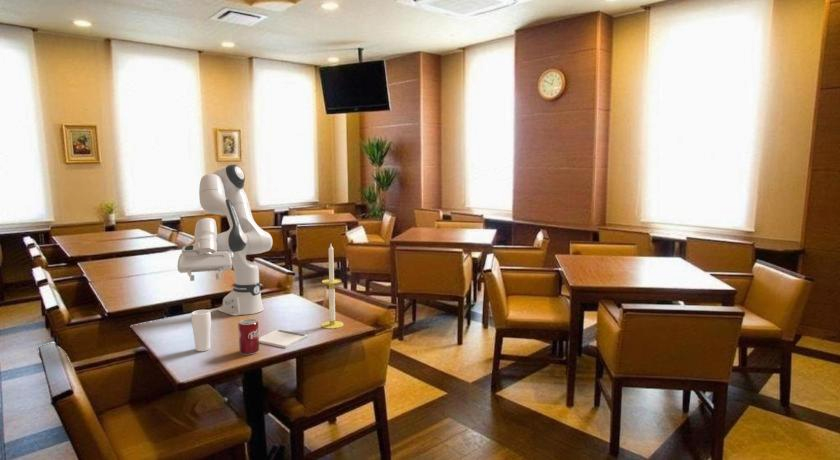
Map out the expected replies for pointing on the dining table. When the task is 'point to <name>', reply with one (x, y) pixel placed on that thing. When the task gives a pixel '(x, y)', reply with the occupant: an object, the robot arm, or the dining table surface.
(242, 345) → the soda can
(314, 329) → the dining table surface
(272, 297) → the dining table surface
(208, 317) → the drinking glass
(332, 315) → the candle
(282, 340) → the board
